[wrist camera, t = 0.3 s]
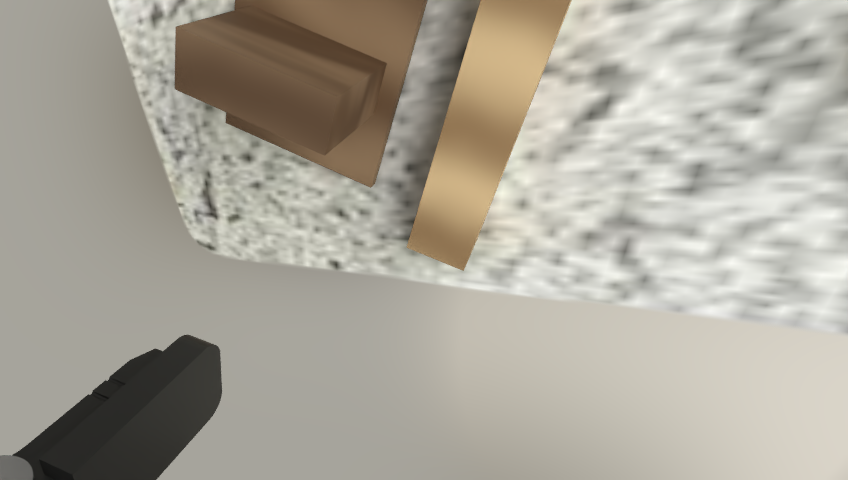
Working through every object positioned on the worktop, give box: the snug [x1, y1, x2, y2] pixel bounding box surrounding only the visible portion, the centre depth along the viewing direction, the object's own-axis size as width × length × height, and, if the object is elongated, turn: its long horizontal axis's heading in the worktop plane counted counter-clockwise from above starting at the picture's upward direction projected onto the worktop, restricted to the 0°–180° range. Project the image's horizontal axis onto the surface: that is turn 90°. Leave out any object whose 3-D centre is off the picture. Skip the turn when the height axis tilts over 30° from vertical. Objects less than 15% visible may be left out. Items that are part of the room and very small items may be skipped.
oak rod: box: [407, 0, 572, 271], centre depth 27 cm, size 16×4×4 cm, turn 165°
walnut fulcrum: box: [175, 0, 427, 187], centre depth 27 cm, size 12×10×7 cm
